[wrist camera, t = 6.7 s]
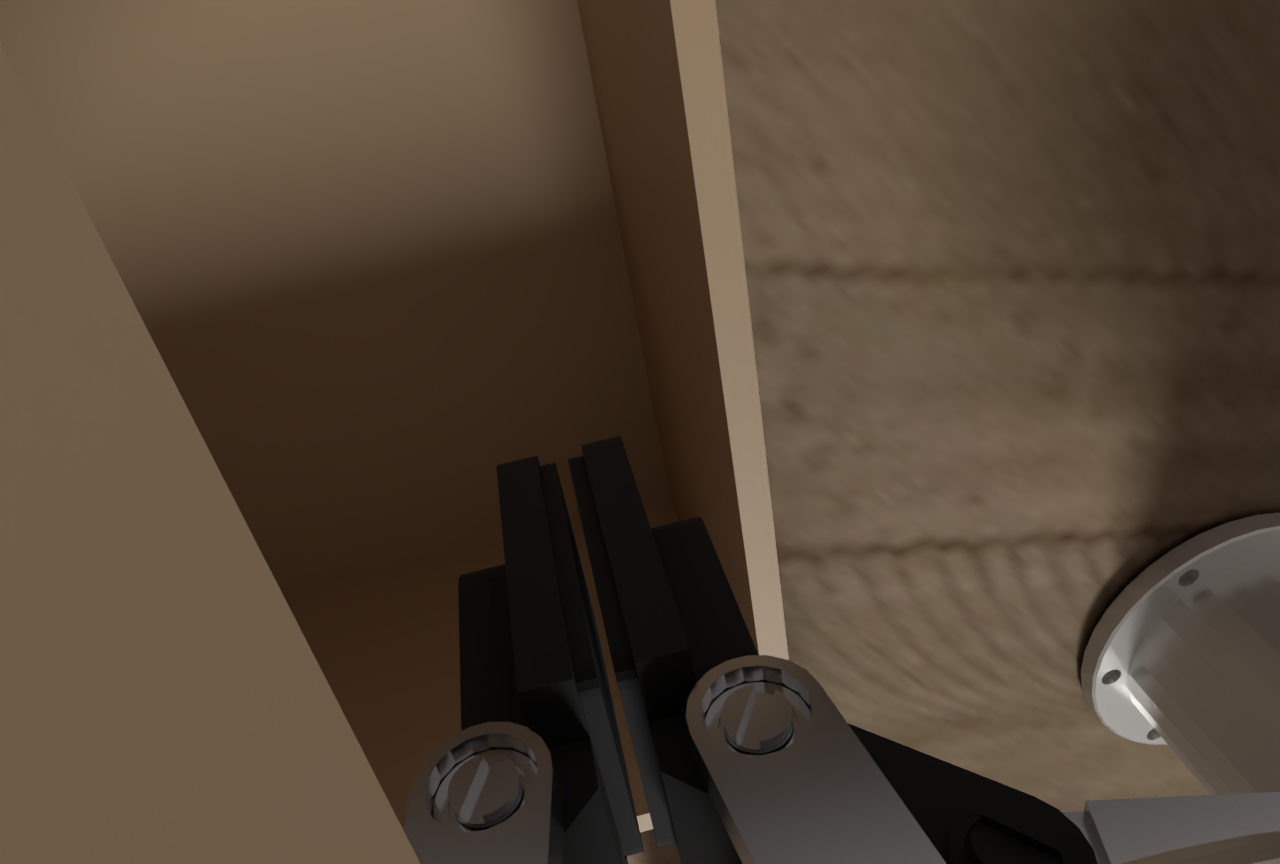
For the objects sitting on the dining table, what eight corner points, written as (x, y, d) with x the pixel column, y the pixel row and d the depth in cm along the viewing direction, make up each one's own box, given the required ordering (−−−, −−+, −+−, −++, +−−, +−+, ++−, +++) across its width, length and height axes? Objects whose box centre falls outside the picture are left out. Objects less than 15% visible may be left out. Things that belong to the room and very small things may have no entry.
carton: (542, -327, 19) (651, -566, 9) (685, 493, 31) (802, 787, 21) (-449, -145, 18) (-1611, -190, 8) (94, 642, 30) (-87, 1032, 19)
